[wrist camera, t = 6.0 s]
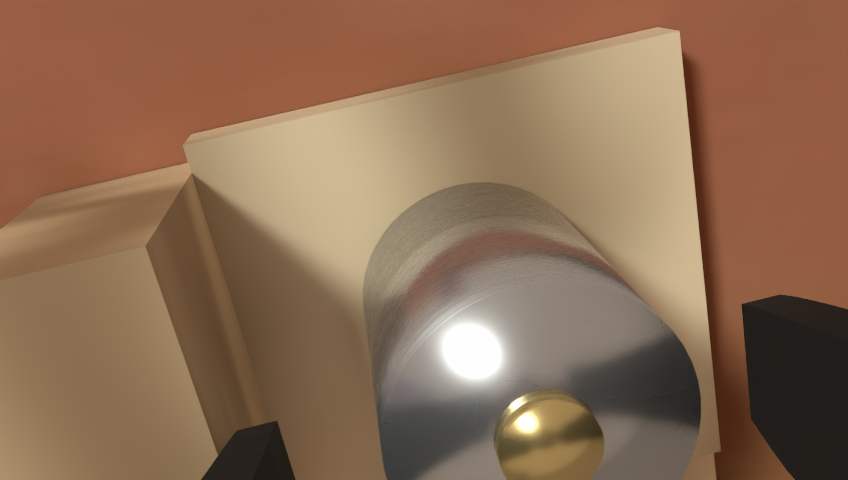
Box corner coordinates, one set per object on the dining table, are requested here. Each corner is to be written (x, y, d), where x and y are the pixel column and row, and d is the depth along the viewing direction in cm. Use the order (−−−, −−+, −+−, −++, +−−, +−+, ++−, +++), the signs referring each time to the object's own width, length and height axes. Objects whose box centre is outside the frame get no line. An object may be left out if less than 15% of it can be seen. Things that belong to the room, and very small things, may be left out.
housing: (406, 424, 16) (444, 630, 11) (328, 229, 15) (333, 367, 10) (611, 350, 16) (741, 523, 11) (554, 148, 15) (676, 245, 10)
